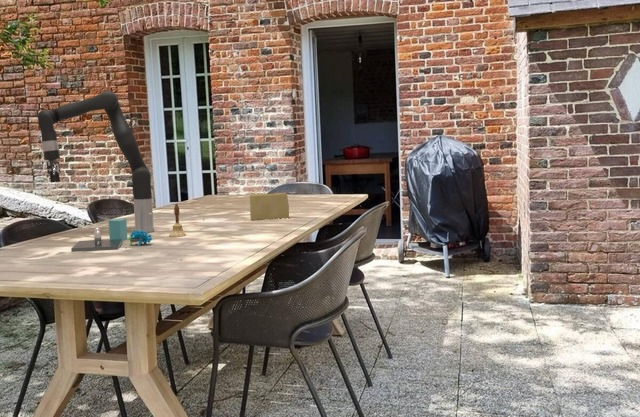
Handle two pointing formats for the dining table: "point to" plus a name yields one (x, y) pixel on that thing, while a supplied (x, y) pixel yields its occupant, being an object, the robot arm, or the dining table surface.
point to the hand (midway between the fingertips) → (55, 182)
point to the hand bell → (177, 225)
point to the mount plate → (99, 246)
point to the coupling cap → (118, 229)
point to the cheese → (269, 206)
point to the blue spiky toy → (139, 237)
